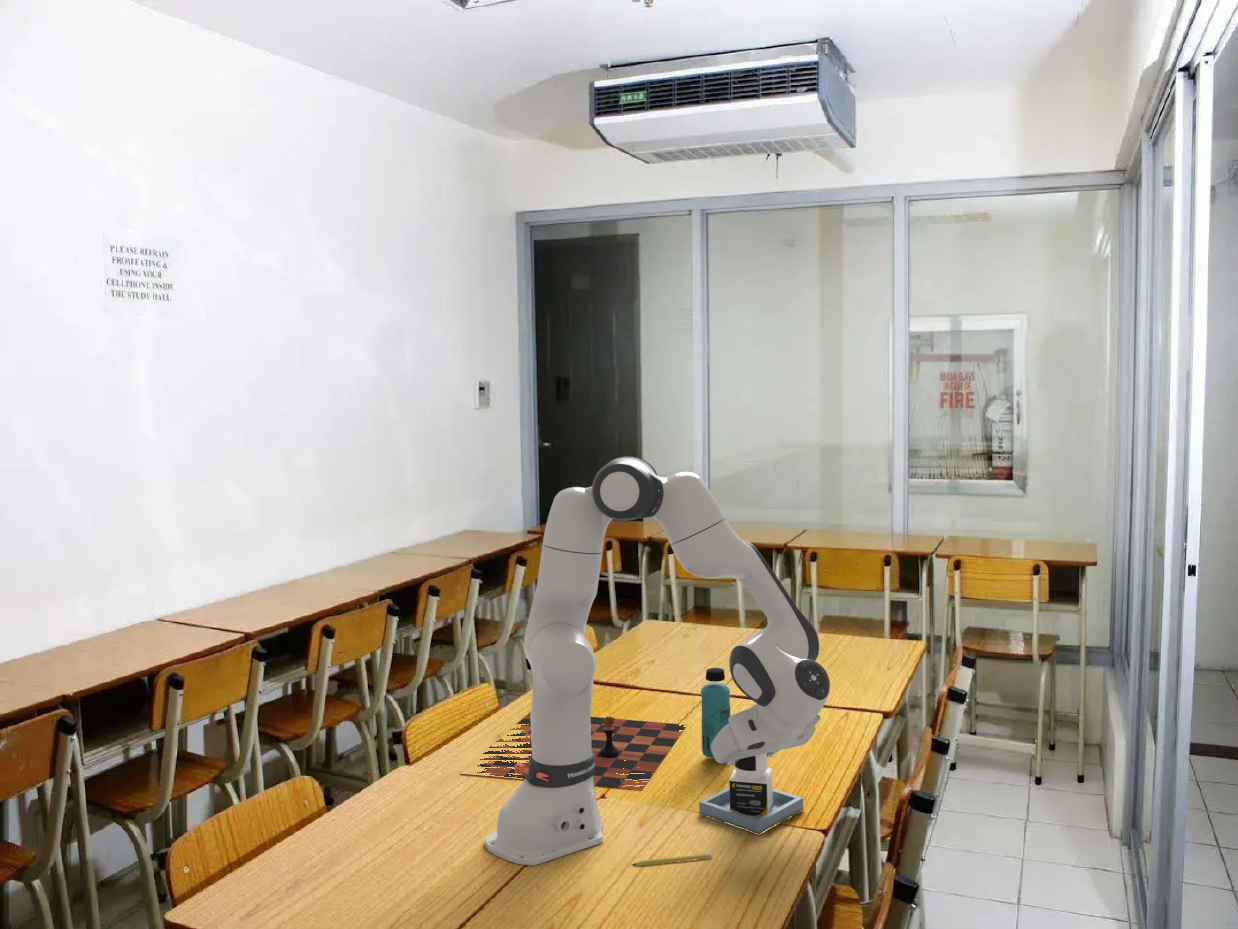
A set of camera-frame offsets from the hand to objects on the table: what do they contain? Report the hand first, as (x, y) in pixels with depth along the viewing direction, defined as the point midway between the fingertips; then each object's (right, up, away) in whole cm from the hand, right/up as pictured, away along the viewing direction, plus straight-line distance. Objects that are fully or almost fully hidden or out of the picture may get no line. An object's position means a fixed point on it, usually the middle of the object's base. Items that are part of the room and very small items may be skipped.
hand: (748, 758), depth 199 cm
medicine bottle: (+1, -10, 0) cm, 10 cm away
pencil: (-16, -13, -18) cm, 27 cm away
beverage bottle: (-3, -8, +28) cm, 29 cm away
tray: (+1, -11, 0) cm, 11 cm away
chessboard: (-33, -9, +37) cm, 51 cm away
